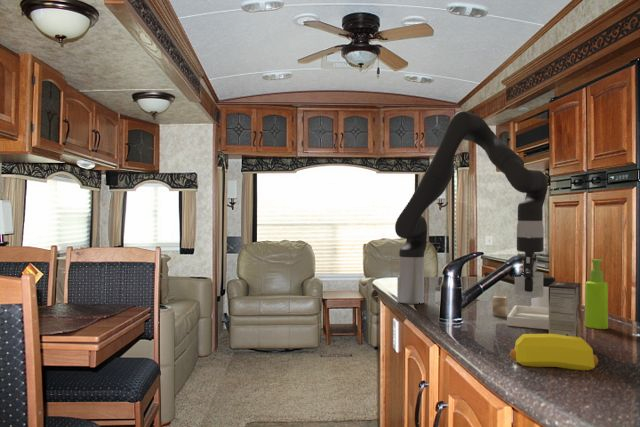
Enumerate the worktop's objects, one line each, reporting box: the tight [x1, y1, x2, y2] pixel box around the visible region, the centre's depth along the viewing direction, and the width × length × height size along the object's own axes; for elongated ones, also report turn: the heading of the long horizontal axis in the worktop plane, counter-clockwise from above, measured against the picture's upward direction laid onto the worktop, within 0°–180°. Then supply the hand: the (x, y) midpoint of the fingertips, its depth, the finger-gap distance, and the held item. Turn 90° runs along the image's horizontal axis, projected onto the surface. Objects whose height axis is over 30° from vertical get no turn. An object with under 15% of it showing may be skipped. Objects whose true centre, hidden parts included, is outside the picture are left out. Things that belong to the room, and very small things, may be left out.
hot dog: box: [509, 333, 599, 371], centre depth 111 cm, size 18×7×8 cm
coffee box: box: [548, 281, 582, 338], centre depth 125 cm, size 9×6×16 cm
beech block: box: [492, 295, 508, 318], centre depth 168 cm, size 4×4×6 cm
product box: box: [513, 271, 544, 299], centre depth 154 cm, size 6×6×7 cm
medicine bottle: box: [530, 275, 556, 308], centre depth 175 cm, size 7×7×12 cm
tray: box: [506, 305, 549, 330], centre depth 159 cm, size 12×22×3 cm, turn 153°
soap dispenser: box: [584, 258, 609, 330], centre depth 151 cm, size 6×7×20 cm
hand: (529, 289), depth 153 cm, fingers closed on product box, 8 cm apart
